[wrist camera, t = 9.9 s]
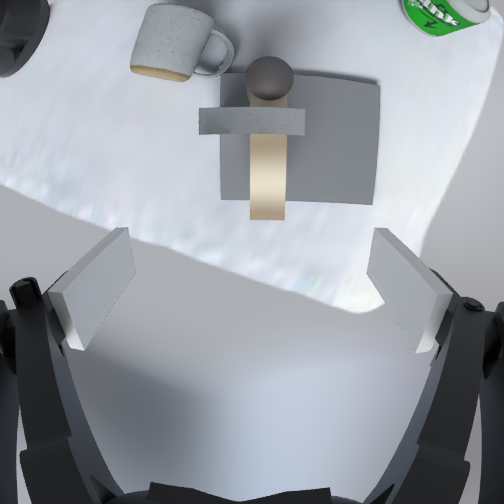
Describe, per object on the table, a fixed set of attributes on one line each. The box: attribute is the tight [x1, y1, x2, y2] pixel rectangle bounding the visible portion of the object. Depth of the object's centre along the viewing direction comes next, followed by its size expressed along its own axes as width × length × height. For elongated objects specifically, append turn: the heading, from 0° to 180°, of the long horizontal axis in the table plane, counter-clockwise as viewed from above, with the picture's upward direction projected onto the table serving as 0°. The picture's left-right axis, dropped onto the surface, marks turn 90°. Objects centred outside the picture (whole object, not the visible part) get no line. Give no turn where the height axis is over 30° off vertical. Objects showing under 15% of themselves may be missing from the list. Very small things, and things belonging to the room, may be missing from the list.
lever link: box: [246, 56, 294, 220], centre depth 25 cm, size 14×4×8 cm, turn 0°
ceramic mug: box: [130, 3, 235, 82], centre depth 24 cm, size 11×8×8 cm
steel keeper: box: [199, 107, 305, 136], centre depth 25 cm, size 2×8×13 cm, turn 89°
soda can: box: [402, 0, 491, 37], centre depth 18 cm, size 8×8×12 cm
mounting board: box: [220, 73, 380, 205], centre depth 30 cm, size 15×18×4 cm
